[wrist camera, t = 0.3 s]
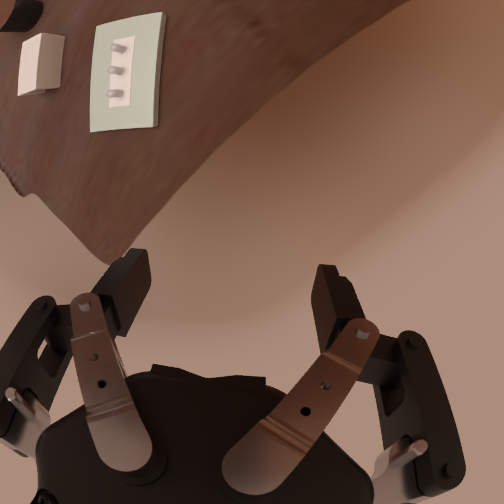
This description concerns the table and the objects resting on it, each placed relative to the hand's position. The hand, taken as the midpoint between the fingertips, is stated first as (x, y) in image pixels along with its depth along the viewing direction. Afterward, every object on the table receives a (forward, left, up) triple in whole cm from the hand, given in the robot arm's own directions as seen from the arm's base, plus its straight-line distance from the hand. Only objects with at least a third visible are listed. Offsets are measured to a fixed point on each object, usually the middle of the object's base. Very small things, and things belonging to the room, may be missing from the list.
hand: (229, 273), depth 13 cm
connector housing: (-18, -36, -29) cm, 50 cm away
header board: (-13, -20, -29) cm, 37 cm away
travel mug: (-32, -45, -29) cm, 62 cm away
